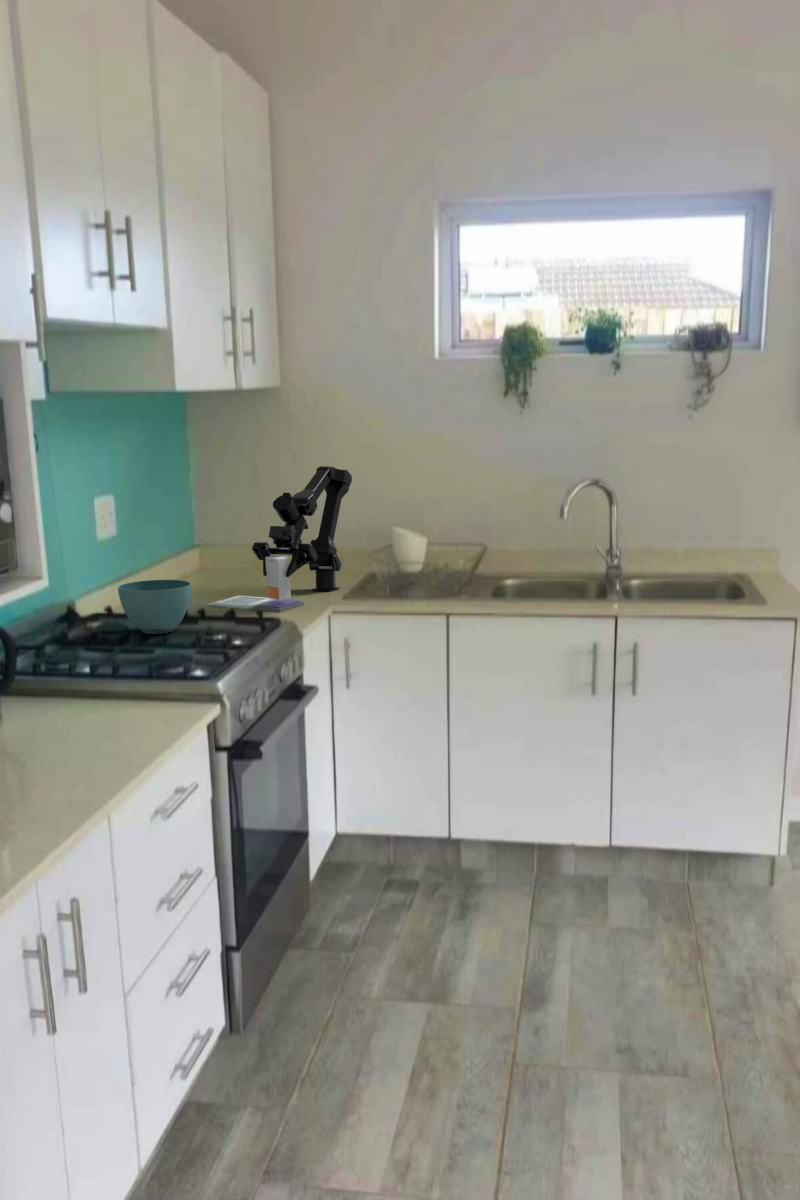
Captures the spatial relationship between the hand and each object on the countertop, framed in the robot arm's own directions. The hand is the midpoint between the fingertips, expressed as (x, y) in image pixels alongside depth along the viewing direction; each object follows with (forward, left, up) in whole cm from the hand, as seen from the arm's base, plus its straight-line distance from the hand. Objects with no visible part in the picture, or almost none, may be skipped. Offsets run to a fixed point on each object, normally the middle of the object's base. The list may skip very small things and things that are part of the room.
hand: (275, 575), depth 293 cm
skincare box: (-1, 0, -7) cm, 7 cm away
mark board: (-2, -14, -9) cm, 17 cm away
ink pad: (-1, 0, -9) cm, 9 cm away
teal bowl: (+39, -10, -9) cm, 41 cm away
